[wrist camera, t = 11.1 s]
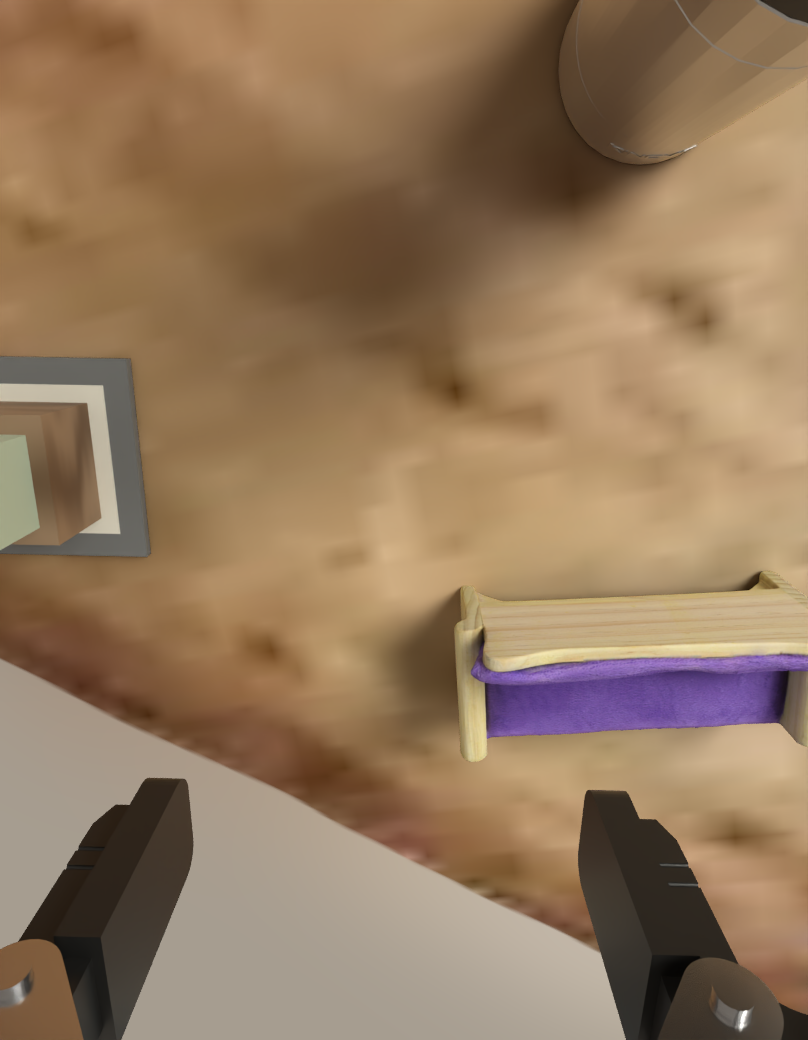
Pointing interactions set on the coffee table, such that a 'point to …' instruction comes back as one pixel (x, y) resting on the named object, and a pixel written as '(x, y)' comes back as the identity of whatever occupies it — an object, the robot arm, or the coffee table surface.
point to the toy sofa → (631, 663)
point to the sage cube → (16, 491)
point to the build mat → (112, 442)
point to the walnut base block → (56, 466)
